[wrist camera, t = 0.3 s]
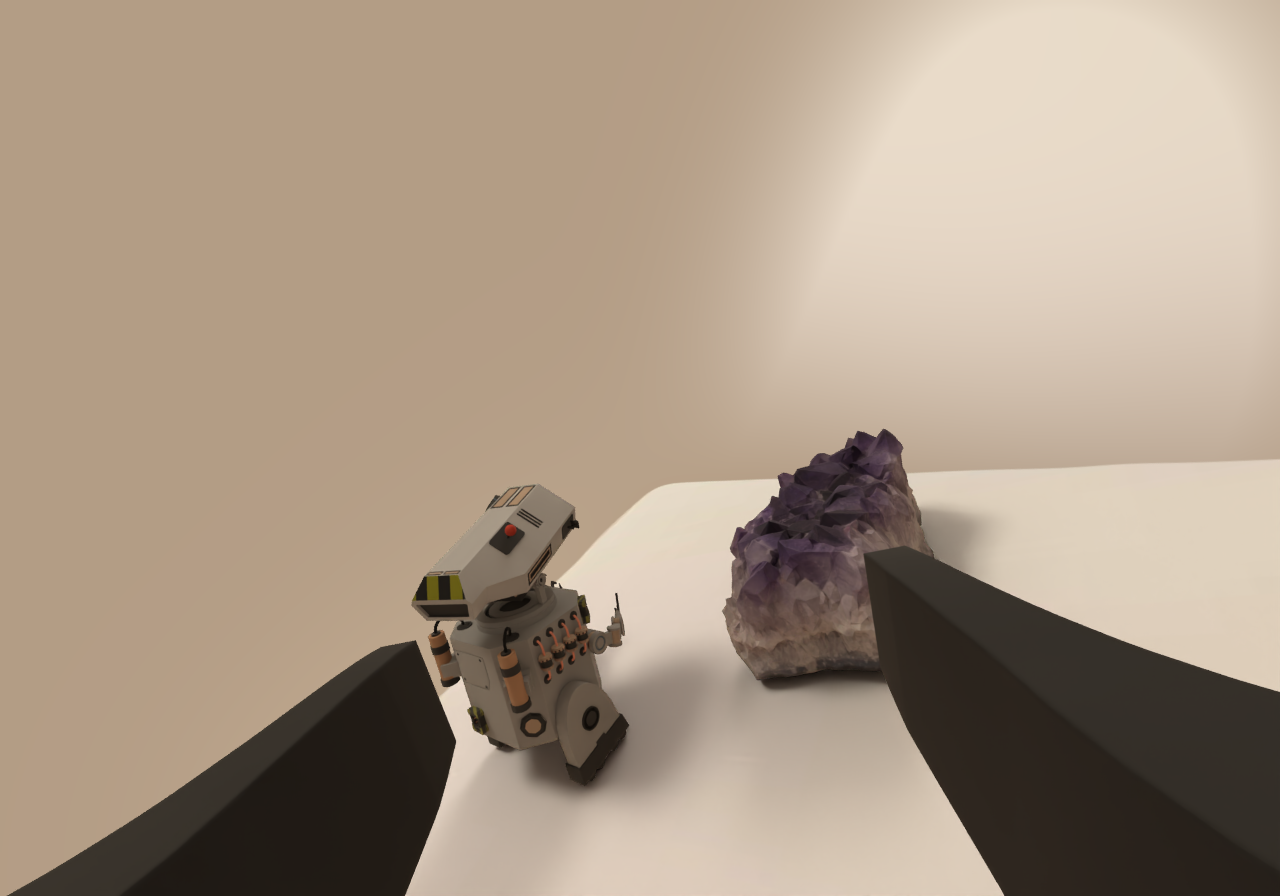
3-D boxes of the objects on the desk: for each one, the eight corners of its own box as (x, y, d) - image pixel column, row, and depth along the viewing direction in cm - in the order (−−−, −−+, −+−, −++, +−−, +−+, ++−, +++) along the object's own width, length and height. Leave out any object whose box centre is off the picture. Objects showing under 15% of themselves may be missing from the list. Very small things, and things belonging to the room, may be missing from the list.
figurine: (680, 665, 40) (602, 468, 35) (570, 815, 32) (450, 588, 27) (585, 643, 46) (508, 472, 41) (473, 765, 38) (360, 571, 33)
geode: (803, 514, 52) (791, 408, 49) (950, 530, 46) (949, 409, 42) (701, 676, 37) (672, 539, 34) (900, 733, 31) (891, 571, 27)
